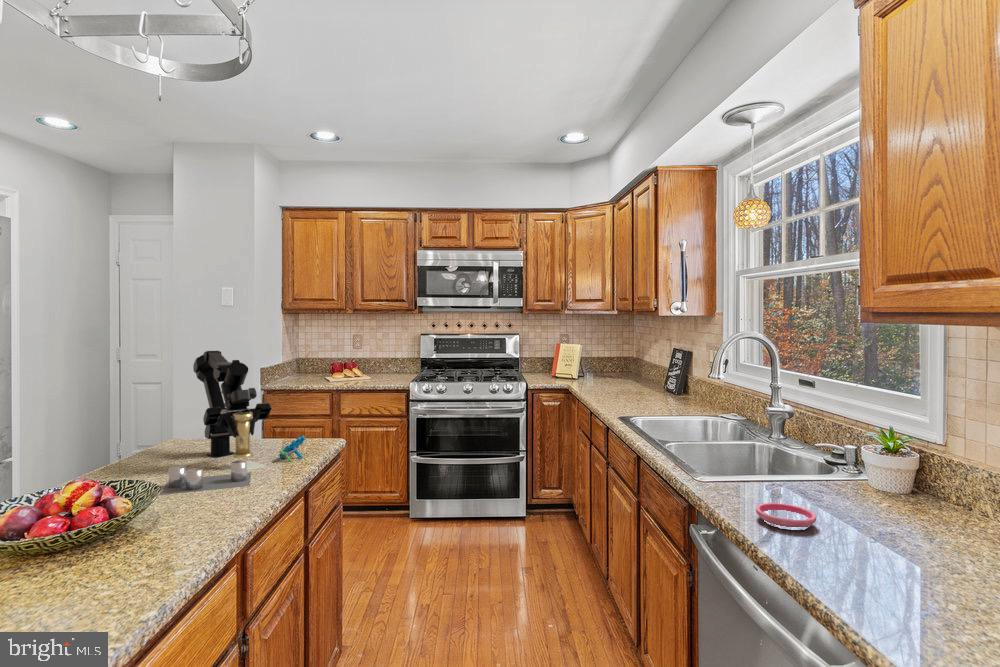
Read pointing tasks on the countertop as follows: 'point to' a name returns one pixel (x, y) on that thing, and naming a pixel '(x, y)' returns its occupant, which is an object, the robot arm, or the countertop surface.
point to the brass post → (242, 434)
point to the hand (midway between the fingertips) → (244, 435)
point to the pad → (250, 466)
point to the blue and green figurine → (292, 448)
